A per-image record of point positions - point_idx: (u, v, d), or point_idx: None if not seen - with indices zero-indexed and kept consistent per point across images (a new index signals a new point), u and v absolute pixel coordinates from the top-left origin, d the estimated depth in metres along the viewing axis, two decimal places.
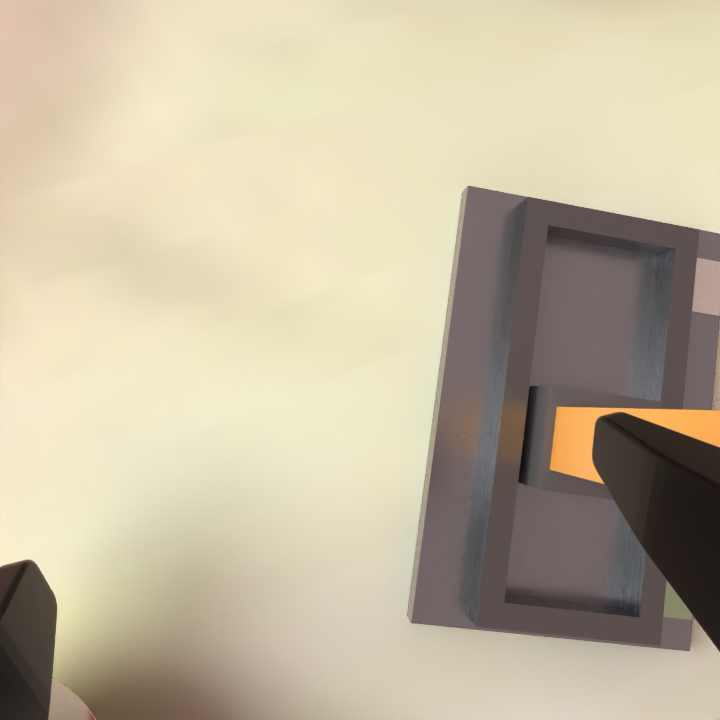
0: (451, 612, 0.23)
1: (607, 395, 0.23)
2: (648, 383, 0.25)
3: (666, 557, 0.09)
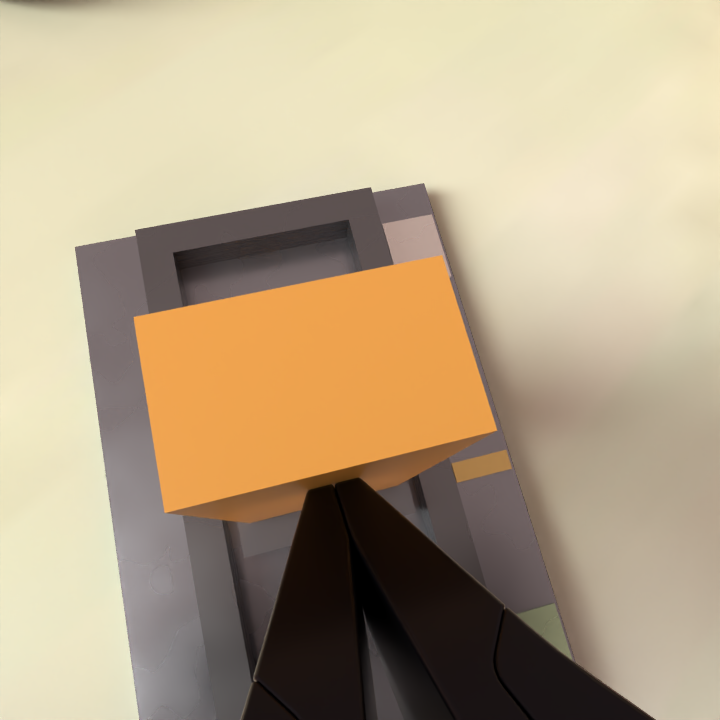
0: None
1: None
2: None
3: (376, 641, 0.08)
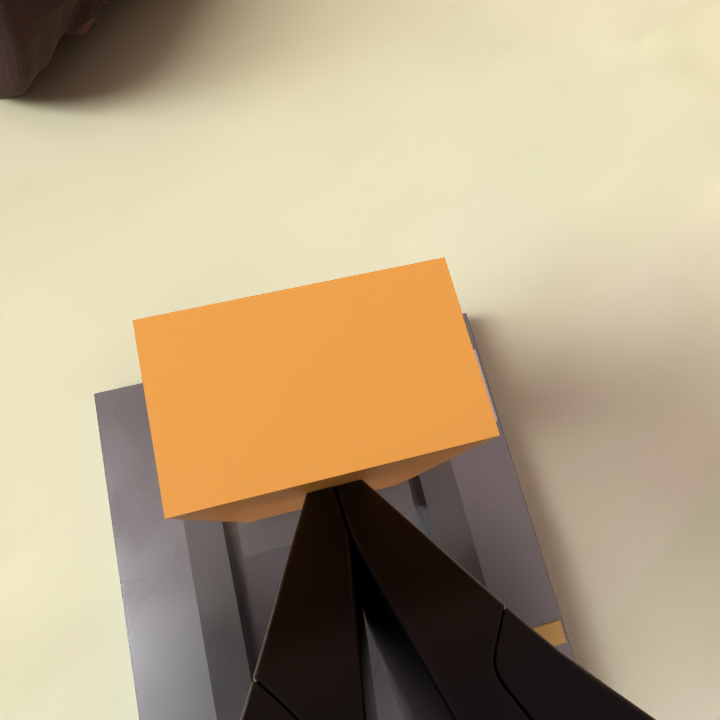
0: None
1: None
2: None
3: (376, 642, 0.08)
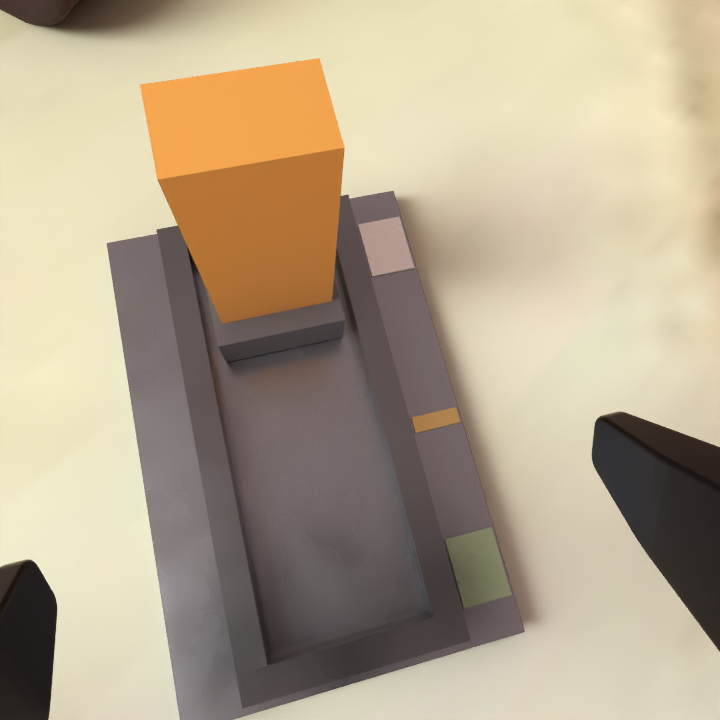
0: (227, 701, 0.19)
1: None
2: (362, 361, 0.23)
3: (666, 557, 0.09)
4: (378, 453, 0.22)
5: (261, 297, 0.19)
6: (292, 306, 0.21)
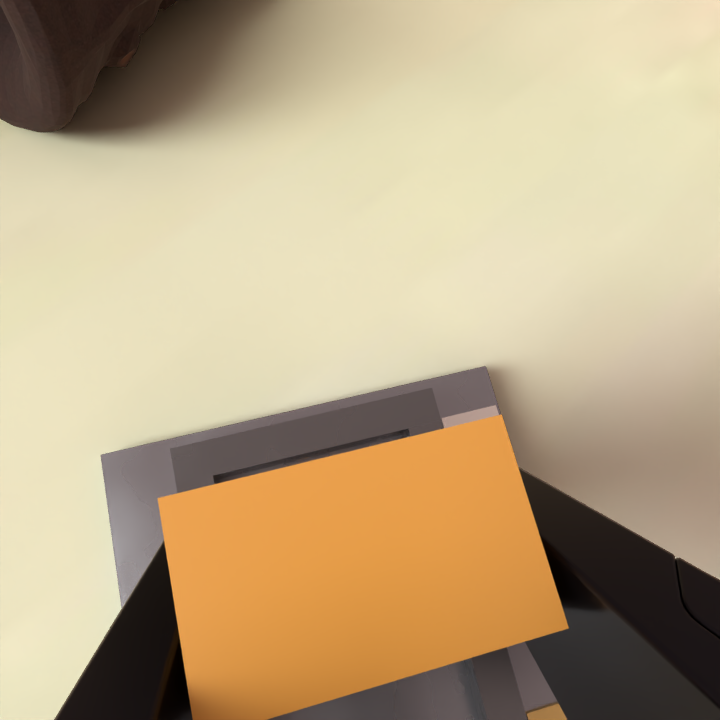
0: None
1: None
2: None
3: None
4: None
5: None
6: None
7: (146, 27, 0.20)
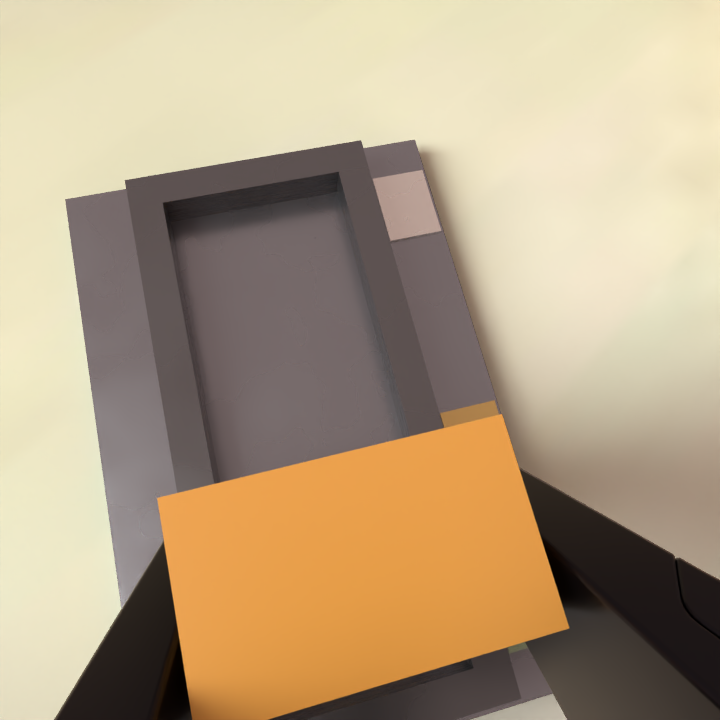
0: None
1: None
2: (379, 343, 0.18)
3: None
4: None
5: None
6: None
7: None
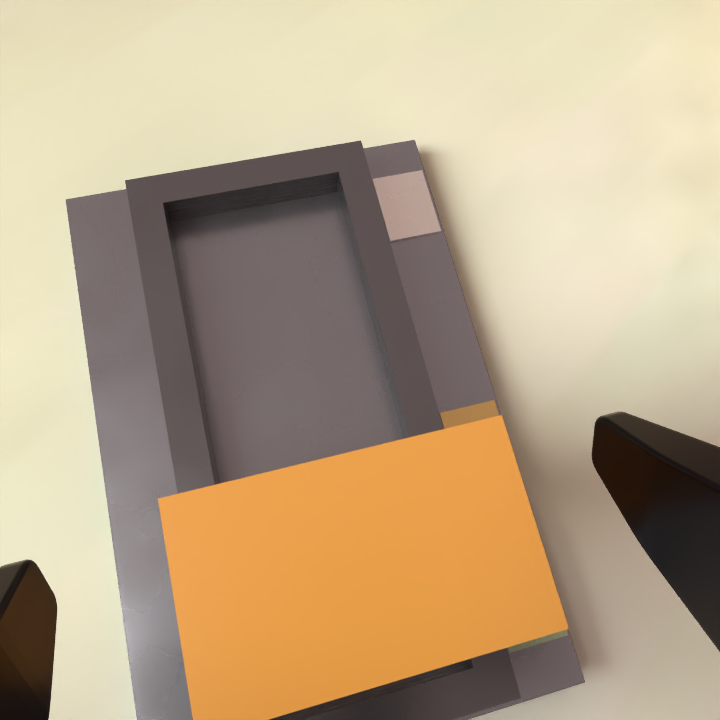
0: None
1: None
2: (379, 343, 0.18)
3: (666, 557, 0.09)
4: None
5: None
6: None
7: None
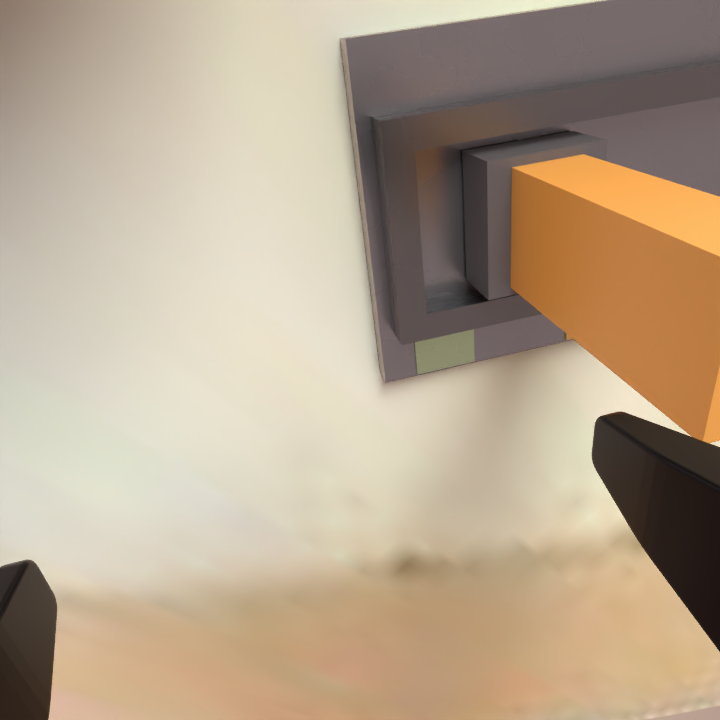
0: (369, 94, 0.18)
1: None
2: None
3: (666, 557, 0.09)
4: None
5: (536, 231, 0.17)
6: (514, 250, 0.19)
7: None
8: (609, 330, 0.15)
